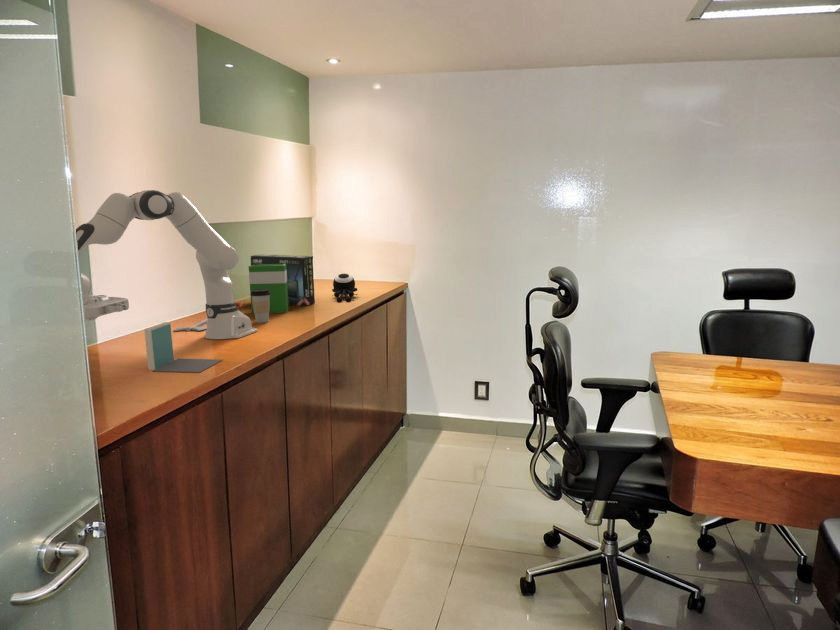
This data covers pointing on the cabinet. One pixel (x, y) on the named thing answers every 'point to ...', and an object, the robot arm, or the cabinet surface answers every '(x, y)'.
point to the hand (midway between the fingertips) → (124, 308)
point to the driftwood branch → (196, 326)
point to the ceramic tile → (159, 345)
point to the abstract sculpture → (344, 287)
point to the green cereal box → (271, 284)
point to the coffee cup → (261, 304)
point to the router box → (293, 276)
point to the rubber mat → (188, 365)
